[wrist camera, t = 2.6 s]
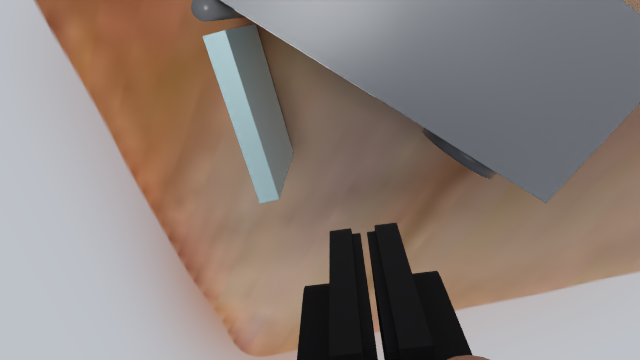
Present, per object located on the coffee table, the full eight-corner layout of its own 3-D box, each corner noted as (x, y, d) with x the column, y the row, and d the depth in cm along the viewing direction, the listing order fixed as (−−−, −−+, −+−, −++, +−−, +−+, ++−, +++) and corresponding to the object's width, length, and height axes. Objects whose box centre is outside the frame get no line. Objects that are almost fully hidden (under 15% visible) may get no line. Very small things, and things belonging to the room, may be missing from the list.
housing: (578, 37, 23) (700, 52, 16) (476, 162, 27) (534, 227, 19) (312, -156, 20) (296, -260, 13) (234, 11, 24) (182, 12, 16)
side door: (293, 153, 26) (279, 199, 20) (268, 158, 26) (246, 206, 20) (255, 24, 23) (224, 30, 17) (227, 31, 23) (187, 40, 17)
